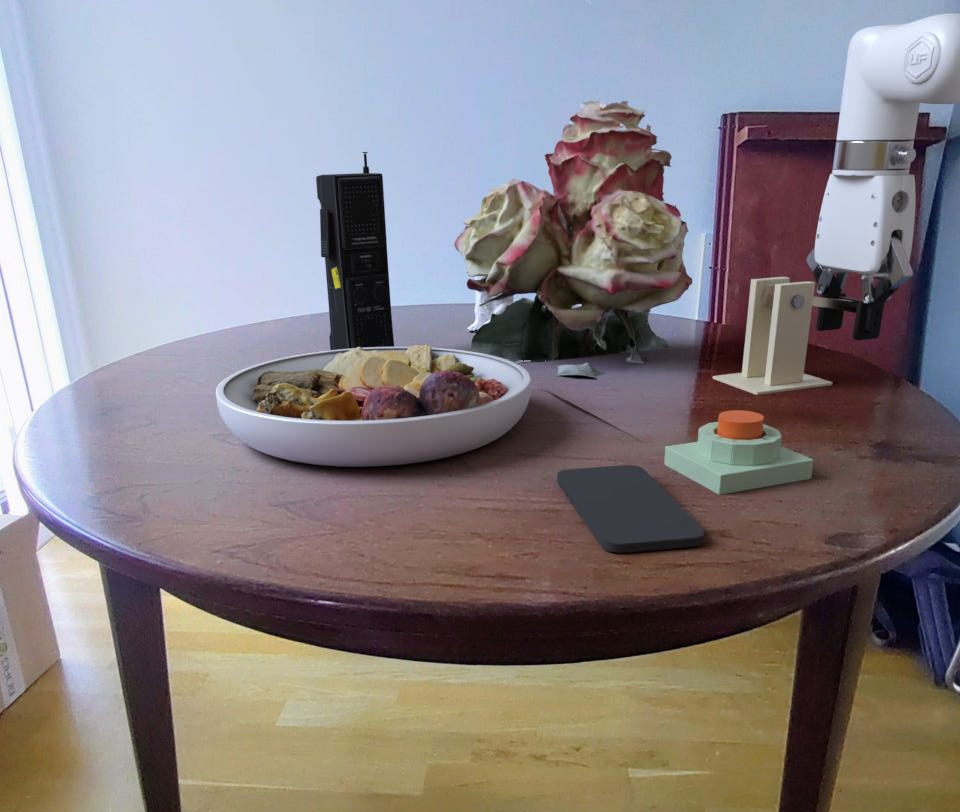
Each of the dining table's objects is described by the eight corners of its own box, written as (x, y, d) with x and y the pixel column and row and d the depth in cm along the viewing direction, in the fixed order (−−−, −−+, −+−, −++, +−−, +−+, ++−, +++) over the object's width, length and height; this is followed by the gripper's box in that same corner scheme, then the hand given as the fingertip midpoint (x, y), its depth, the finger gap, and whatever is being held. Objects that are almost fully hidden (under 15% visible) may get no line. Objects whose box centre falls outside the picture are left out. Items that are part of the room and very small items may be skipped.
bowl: (171, 425, 91) (159, 348, 88) (412, 376, 109) (409, 310, 106) (326, 507, 70) (318, 409, 67) (594, 430, 88) (597, 349, 84)
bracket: (783, 377, 106) (795, 273, 101) (831, 392, 99) (847, 282, 94) (711, 386, 102) (720, 279, 98) (755, 403, 96) (768, 289, 91)
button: (743, 428, 77) (745, 408, 76) (771, 439, 74) (773, 419, 73) (708, 433, 76) (709, 413, 75) (734, 445, 73) (736, 424, 72)
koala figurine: (460, 334, 132) (458, 249, 127) (463, 326, 138) (461, 244, 134) (517, 334, 132) (518, 248, 127) (518, 325, 138) (518, 243, 133)
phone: (606, 545, 60) (553, 470, 74) (605, 556, 61) (552, 479, 74) (711, 536, 62) (640, 463, 75) (710, 547, 62) (639, 473, 75)
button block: (750, 451, 81) (754, 413, 79) (811, 479, 74) (816, 438, 73) (663, 464, 78) (666, 425, 76) (719, 495, 71) (722, 453, 70)
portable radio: (346, 369, 113) (330, 153, 103) (322, 362, 117) (304, 153, 107) (398, 360, 117) (388, 151, 107) (373, 353, 122) (360, 152, 112)
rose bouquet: (433, 364, 115) (423, 103, 103) (588, 332, 132) (595, 106, 121) (583, 402, 97) (592, 92, 85) (739, 359, 115) (764, 97, 103)
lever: (838, 313, 103) (843, 291, 103) (870, 320, 99) (876, 298, 98) (752, 305, 99) (758, 282, 98) (783, 312, 94) (788, 288, 94)
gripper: (966, 160, 89) (932, 345, 96) (842, 158, 103) (821, 319, 110) (906, 162, 86) (876, 352, 93) (788, 159, 101) (770, 324, 108)
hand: (846, 332), depth 102 cm, fingers closed on lever, 5 cm apart
